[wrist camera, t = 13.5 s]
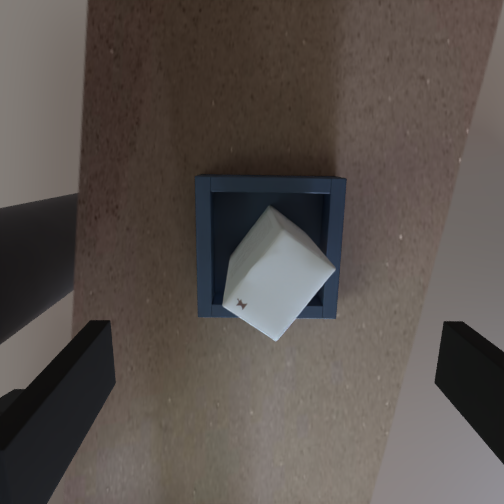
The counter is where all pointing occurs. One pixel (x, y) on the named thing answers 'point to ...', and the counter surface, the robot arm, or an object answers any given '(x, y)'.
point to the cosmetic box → (274, 274)
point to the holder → (245, 216)
